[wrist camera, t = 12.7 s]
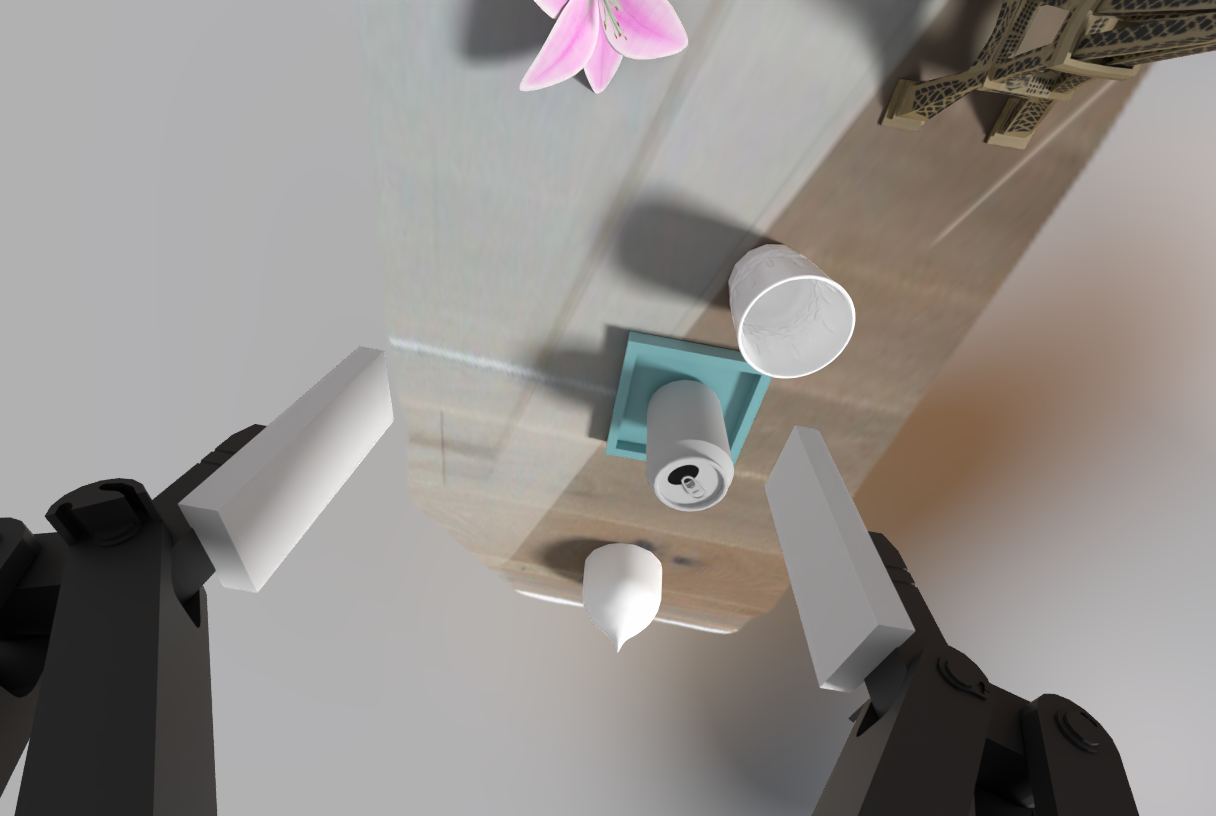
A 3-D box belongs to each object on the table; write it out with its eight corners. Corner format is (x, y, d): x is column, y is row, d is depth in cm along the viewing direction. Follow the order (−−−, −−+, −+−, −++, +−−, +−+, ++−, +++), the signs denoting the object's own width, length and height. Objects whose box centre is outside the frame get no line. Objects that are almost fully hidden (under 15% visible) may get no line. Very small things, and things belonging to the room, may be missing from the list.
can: (692, 361, 45) (702, 437, 35) (734, 411, 48) (754, 494, 38) (632, 400, 48) (627, 480, 38) (675, 445, 51) (680, 530, 41)
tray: (629, 331, 44) (628, 340, 43) (771, 357, 45) (776, 367, 43) (606, 441, 52) (605, 453, 51) (727, 463, 53) (729, 475, 51)
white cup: (735, 335, 44) (753, 391, 35) (709, 258, 40) (723, 301, 32) (821, 304, 41) (863, 357, 33) (803, 219, 37) (845, 256, 29)
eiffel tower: (1135, -51, 28) (2543, -463, 7) (1021, 148, 34) (1596, 240, 13) (963, -81, 27) (1880, -589, 7) (879, 125, 33) (1235, 179, 13)
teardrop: (624, 600, 70) (620, 684, 60) (568, 566, 66) (553, 649, 56) (678, 570, 64) (683, 656, 55) (621, 531, 61) (614, 616, 51)
